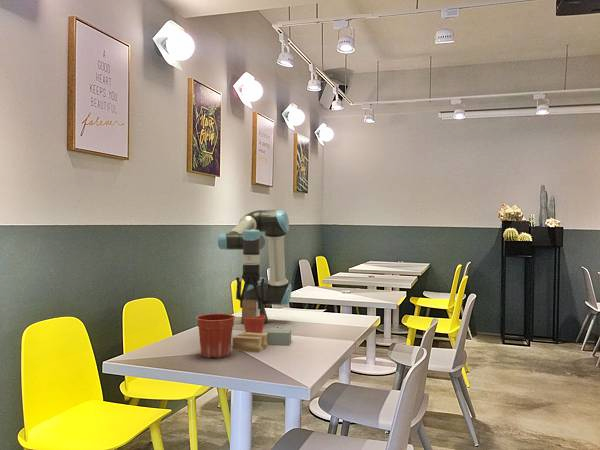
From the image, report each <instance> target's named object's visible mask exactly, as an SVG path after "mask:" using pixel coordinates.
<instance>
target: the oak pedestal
mask: <svg viewBox="0 0 600 450" xmlns="http://www.w3.org/2000/svg"><path fill="white" fill-rule="evenodd" d="M268 346H269V345H268V333H263V332H262V333H251V332H245V331H242V332H241V333H238V334H237V335H235V336H233V337H232V351H235V352H246V353H247V352H248V353H260V352H261V351H263V350H264V349H266V348H267V347H268Z"/></svg>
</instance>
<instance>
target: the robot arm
mask: <svg viewBox="0 0 600 450" xmlns="http://www.w3.org/2000/svg"><path fill="white" fill-rule="evenodd" d="M289 230H290V221H289V217H288V214H287V212H286V211H285V210H279V209H272V210H271V209H269V210H266V209H265V210H263V209H262V210H260V209H257V210H253V211H251V212H249V213H246V214H245V215H244V216H242V217H241V218H240V219H239V222H238V223H237V224H236V225H235V226H234V227H233V228H232V229H230V231H229V232H228V233H226V232H224V233H220V234H218V237H217V246H218V249H220V250H230V251H231V250H235V251H237V250H239V251H240V250H242V263H243V264H242V275H241V276H237V277H236V278H235V279H236V290H235V291H236V292H235V293H236V294H235V299H236V300H238V301H239V308H240V309H242V301H245V300H258V301H257V302H256V317H258V316H260V315H264V316H265V321H264V325H265V324H268V322H269V317H268V314H267V310H266V305H272V306H273V305H277V306H278V305H279V306H282V305H283V306H285V305H289V303H290V301H291V298H292V297H291V296H292V295H291V294H292V289H293V288H292V284H291V283H289V280H288V278H286V263H285V262H286V261H285V240H284V239H285V237H286V235H287V233H288V232H289ZM261 232H262V233H263V232H264V234H262V233H261ZM264 235H265V236H264ZM266 238H267V239H266ZM267 244H268V245H267ZM266 246H268V263H269V264H268V265H269V279H267V278H266V277H262V276H261V275H260V266H261V265H260V263H261V260H260V259H261V255H260V250H262V249H264V248H265V247H266ZM242 281H243V282H244V283H242ZM266 281H267V283H266ZM242 284H243V287H242ZM240 323H241V324H243V325H244V320H243V317H242V316H241V318H240Z"/></svg>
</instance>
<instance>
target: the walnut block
mask: <svg viewBox="0 0 600 450" xmlns="http://www.w3.org/2000/svg"><path fill="white" fill-rule="evenodd" d="M257 301H258V300H245V301H242V308H241V318H242V317H245V318H256V302H257Z"/></svg>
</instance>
